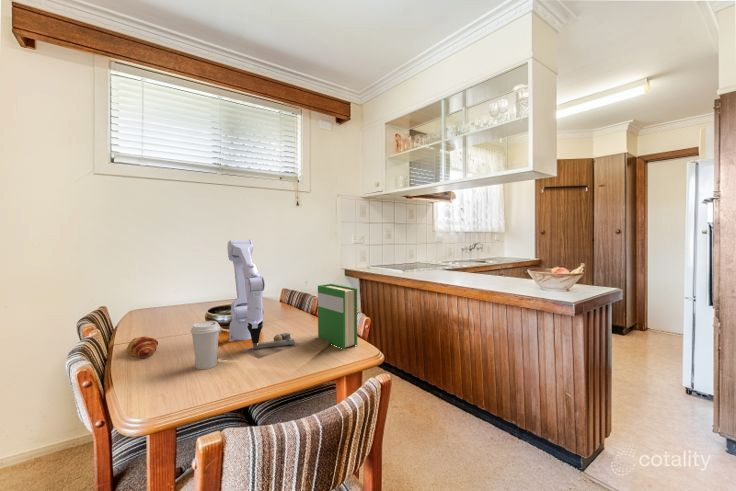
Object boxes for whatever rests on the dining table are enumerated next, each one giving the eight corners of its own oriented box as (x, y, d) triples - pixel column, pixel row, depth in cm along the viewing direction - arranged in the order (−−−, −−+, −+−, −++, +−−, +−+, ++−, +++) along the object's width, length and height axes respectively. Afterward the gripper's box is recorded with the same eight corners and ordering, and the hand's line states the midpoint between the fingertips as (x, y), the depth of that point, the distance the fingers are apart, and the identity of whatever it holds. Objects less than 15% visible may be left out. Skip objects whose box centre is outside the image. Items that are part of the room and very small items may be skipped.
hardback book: (357, 345, 136) (357, 288, 135) (343, 350, 131) (343, 290, 130) (331, 336, 149) (331, 283, 148) (318, 339, 144) (317, 285, 143)
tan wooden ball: (271, 344, 135) (271, 335, 135) (276, 341, 138) (276, 333, 138) (279, 345, 134) (279, 336, 134) (284, 342, 137) (284, 333, 137)
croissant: (130, 355, 136) (118, 340, 133) (154, 339, 142) (143, 325, 139) (139, 370, 120) (126, 353, 118) (166, 351, 126) (154, 335, 124)
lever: (293, 343, 136) (293, 328, 136) (294, 345, 134) (294, 329, 133) (252, 348, 130) (252, 332, 130) (252, 350, 128) (252, 334, 128)
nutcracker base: (283, 340, 143) (283, 331, 143) (301, 346, 135) (301, 336, 135) (241, 354, 127) (241, 343, 127) (258, 361, 120) (258, 350, 120)
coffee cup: (201, 373, 110) (200, 329, 109) (185, 367, 115) (184, 325, 114) (226, 363, 118) (226, 322, 117) (211, 358, 123) (210, 319, 122)
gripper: (245, 304, 135) (245, 337, 136) (243, 312, 121) (243, 348, 122) (263, 303, 137) (263, 335, 138) (263, 311, 123) (263, 346, 124)
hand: (255, 341), depth 130 cm, fingers open, 3 cm apart
